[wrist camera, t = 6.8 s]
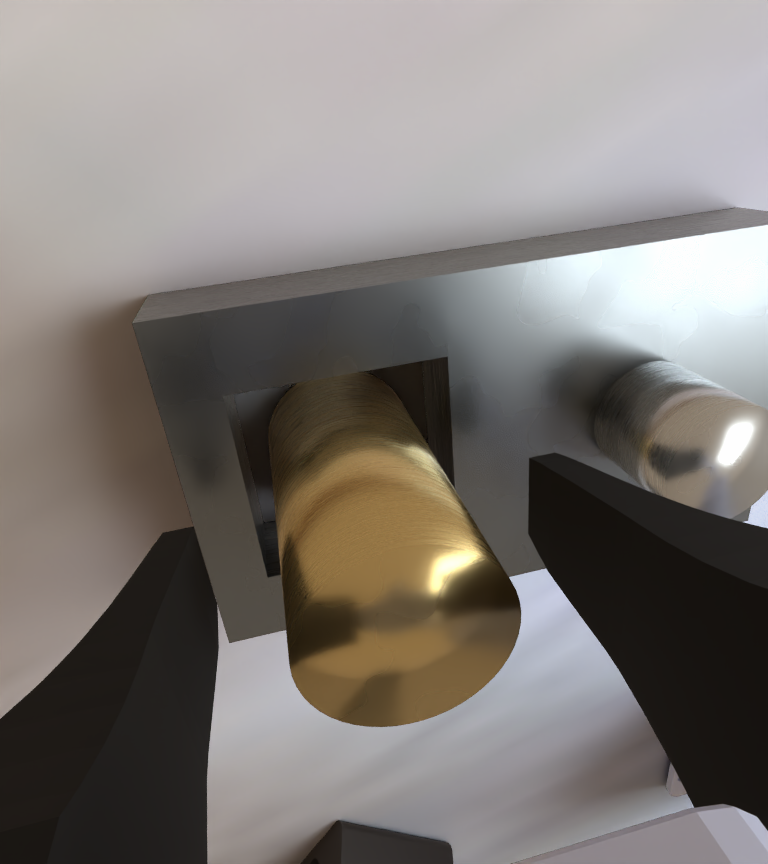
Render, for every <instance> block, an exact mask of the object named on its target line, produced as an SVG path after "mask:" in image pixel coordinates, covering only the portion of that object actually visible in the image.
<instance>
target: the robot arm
mask: <svg viewBox="0 0 768 864" xmlns="http://www.w3.org/2000/svg"><path fill="white" fill-rule="evenodd" d="M528 534H529V536H530V538H531V540H532V542H533V544H534V546H535V548H536V550H537V552H538V554H539V556H540V558H541V559H542V561H543V563H544V565H545V567H546V568H547V570H548V572H549V573H550V575H551V576H552V577H553V579H554V580H555V582H556V583H557V584H558V586H559V587H560V589H561V590H562V591H563V593H564V594H565V595H566V597H567V598H568V600H569V601H570V602H571V604H572V605H573V606H574V608H575V609H576V610H577V612H578V613H579V615H580V616H581V617H582V619H583V620H584V621H585V623H586V624H587V625H588V627H589V628H590V629H591V631H592V632H593V634H594V635H595V636H596V638H597V639H598V640H599V642H600V643H601V644H602V646H603V647H604V648H605V650H606V651H607V653H608V654H609V656H610V657H611V659H612V660H613V662H614V663H615V665H616V666H617V668H618V669H619V671H620V673H621V674H622V676H623V678H624V679H625V681H626V683H627V685H628V686H629V688H630V690H631V691H632V693H633V695H634V697H635V698H636V700H637V702H638V703H639V705H640V707H641V708H642V710H643V712H644V714H645V716H646V717H647V719H648V721H649V723H650V725H651V727H652V728H653V730H654V732H655V734H656V736H657V737H658V739H659V741H660V743H661V745H662V746H663V748H664V750H665V752H666V754H667V756H668V758H669V759H670V761H671V763H670V768H669V773H668V778H667V784H666V789H667V790H668V792H669V793H670V795H671V796H675V797H677V796H681V795H684V794H688V796H689V798H690V800H691V802H692V804H693V806H694V808H689V809H686V810H683V811H680V812H676V813H673V814H670V815H667V816H664V817H660V818H657V819H654V820H651V821H647V822H644V823H641V824H638V825H634V826H631V827H628V828H625V829H622V830H618V831H615V832H612V833H609V834H605V835H602V836H599V837H596V838H593V839H589V840H586V841H583V842H580V843H576V844H573V845H570V846H567V847H563V848H560V849H557V850H554V851H551V852H547V853H544V854H541V855H538V856H534V857H531V858H528V859H525V860H521V861H518V862H515V863H512V864H768V528H763V527H759V526H755V525H751V524H747V523H743V522H740V521H736V520H733V519H729V518H726V517H722V516H719V515H715V514H712V513H709V512H705V511H702V510H699V509H696V508H693V507H690V506H687V505H684V504H682V503H679V502H676V501H673V500H671V499H668V498H665V497H662V496H660V495H657V494H655V493H652V492H650V491H647V490H645V489H642V488H640V487H637V486H635V485H632V484H630V483H628V482H625V481H623V480H621V479H618V478H616V477H614V476H611V475H609V474H607V473H604V472H602V471H600V470H597V469H595V468H593V467H591V466H588V465H586V464H584V463H581V462H579V461H577V460H574V459H572V458H569V457H567V456H564V455H561V454H558V453H550V454H545V455H540V456H535V457H531V458H529V502H528ZM218 649H219V645H218V613H217V602H216V598H215V595H214V592H213V588H212V585H211V582H210V579H209V575H208V572H207V569H206V565H205V562H204V559H203V556H202V552H201V549H200V546H199V542H198V539H197V536H196V533H195V529H194V527H189V528H185V529H180V530H175V531H170V532H165V533H162V535H161V536H160V538H159V539H158V540H157V542H156V543H155V544H154V546H153V547H152V548H151V550H150V551H149V553H148V554H147V555H146V557H145V558H144V560H143V561H142V563H141V564H140V565H139V567H138V568H137V570H136V571H135V572H134V574H133V575H132V577H131V578H130V579H129V581H128V582H127V583H126V585H125V586H124V587H123V589H122V590H121V591H120V593H119V594H118V595H117V597H116V598H115V600H114V601H113V602H112V604H111V605H110V606H109V607H108V609H107V610H106V611H105V612H104V613H103V615H102V616H101V617H100V618H99V619H98V621H97V622H96V623H95V624H94V626H93V627H92V628H91V629H90V630H89V632H88V633H87V634H86V635H85V636H84V638H83V639H82V640H81V641H80V642H79V643H78V644H77V645H76V647H75V648H74V649H73V650H72V651H71V652H70V653H69V654H68V655H67V656H66V657H65V658H64V659H63V661H62V662H61V663H60V664H59V665H58V666H57V667H56V668H55V669H54V670H53V671H52V672H51V673H50V674H49V675H48V676H47V677H46V678H45V679H44V680H43V681H42V682H41V683H40V684H39V685H38V686H36V687H35V688H34V689H33V690H32V691H31V692H30V693H29V694H28V695H27V696H25V697H24V698H23V699H22V700H21V701H20V702H19V703H18V704H17V705H15V706H14V707H13V708H12V709H11V710H10V711H9V712H8V713H6V714H5V715H4V716H3V717H2V718H1V719H0V864H207V767H208V751H209V741H210V731H211V721H212V712H213V702H214V692H215V682H216V671H217V661H218Z"/></svg>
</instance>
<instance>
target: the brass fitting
mask: <svg viewBox="0 0 768 864" xmlns="http://www.w3.org/2000/svg"><path fill="white" fill-rule="evenodd" d="M268 441H269V452H270V463H271V474H272V484H273V495H274V505H275V516H276V526H277V537H278V548H279V558H280V569H281V579H282V590H283V600H284V611H285V622H286V632H287V643H288V653H289V664H290V669H291V674H292V677H293V680H294V682H295V684H296V687H297V688H298V690H299V691H300V693H301V694H302V696H303V697H304V698H305V699H306V700H307V701H308V702H309V703H310V704H311V705H312V706H314V707H315V708H316V709H317V710H319V711H320V712H322V713H324V714H326V715H327V716H329V717H331V718H334V719H337V720H339V721H342V722H346V723H350V724H354V725H360V726H369V727H387V726H398V725H404V724H410V723H414V722H418V721H422V720H425V719H428V718H431V717H434V716H437V715H439V714H441V713H443V712H446V711H448V710H450V709H452V708H454V707H456V706H457V705H459V704H461V703H463V702H464V701H466V700H467V699H469V698H470V697H472V696H473V695H474V694H476V693H477V692H478V691H479V690H481V689H482V688H483V687H484V686H485V685H486V684H487V683H488V682H489V681H490V680H491V679H492V678H494V676H495V675H496V674H497V673H498V672H499V670H500V669H501V668H502V667H503V665H504V664H505V662H506V661H507V659H508V658H509V656H510V654H511V652H512V650H513V648H514V646H515V643H516V640H517V637H518V635H519V629H520V624H521V608H520V601H519V598H518V595H517V592H516V589H515V588H514V586H513V584H512V582H511V580H510V579H509V577H508V575H507V574H506V572H505V570H504V569H503V567H502V565H501V564H500V562H499V561H498V559H497V557H496V556H495V554H494V552H493V551H492V549H491V548H490V546H489V544H488V543H487V541H486V539H485V538H484V536H483V534H482V533H481V531H480V530H479V528H478V526H477V525H476V523H475V521H474V520H473V518H472V517H471V515H470V513H469V512H468V510H467V508H466V507H465V505H464V503H463V502H462V500H461V499H460V497H459V495H458V494H457V492H456V490H455V489H454V487H453V485H452V484H451V482H450V481H449V479H448V477H447V476H446V474H445V472H444V471H443V469H442V468H441V466H440V464H439V463H438V461H437V459H436V458H435V456H434V454H433V453H432V451H431V450H430V448H429V446H428V445H427V443H426V441H425V440H424V438H423V436H422V435H421V433H420V432H419V430H418V428H417V427H416V425H415V423H414V422H413V420H412V419H411V417H410V415H409V414H408V412H407V410H406V409H405V407H404V405H403V404H402V402H401V401H400V399H399V397H398V396H397V395H396V393H395V392H394V391H393V390H392V389H391V388H390V387H389V386H388V385H387V384H386V383H385V382H383V381H382V380H381V379H379V378H377V377H375V376H373V375H371V374H368V373H366V372H357V373H351V374H346V375H340V376H334V377H329V378H323V379H317V380H311V381H306V382H300V383H297V384H296V385H295V386H293V387H292V388H291V389H290V390H289V391H288V392H287V393H286V394H285V395H284V396H283V397H282V399H281V400H280V401H279V403H278V405H277V406H276V408H275V410H274V412H273V415H272V417H271V421H270V425H269V432H268Z"/></svg>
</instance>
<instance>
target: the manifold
mask: <svg viewBox="0 0 768 864" xmlns="http://www.w3.org/2000/svg"><path fill="white" fill-rule="evenodd" d="M132 325H133V328H134V331H135V334H136V338H137V341H138V344H139V348H140V351H141V354H142V357H143V361H144V364H145V367H146V371H147V374H148V377H149V380H150V384H151V387H152V390H153V394H154V397H155V400H156V403H157V407H158V410H159V413H160V417H161V420H162V423H163V426H164V430H165V433H166V436H167V440H168V443H169V446H170V450H171V453H172V456H173V459H174V463H175V466H176V469H177V473H178V476H179V479H180V482H181V486H182V489H183V492H184V496H185V499H186V502H187V505H188V509H189V512H190V515H191V519H192V522H193V525H194V528H195V532H196V535H197V538H198V542H199V545H200V548H201V551H202V555H203V558H204V561H205V565H206V568H207V571H208V574H209V578H210V581H211V584H212V588H213V591H214V594H215V597H216V601H217V604H218V607H219V611H220V614H221V617H222V620H223V624H224V627H225V630H226V634H227V637H228V640H229V643H232V642H236V641H240V640H245V639H249V638H253V637H257V636H262V635H266V634H270V633H274V632H279V631H283V630H286V622H285V611H284V600H283V590H282V579H281V569H280V558H279V548H278V537H277V526H276V521H274V522H270V523H265V524H264V522H263V518H262V513H261V509H260V505H259V501H258V496H257V492H256V488H255V484H254V480H253V475H252V471H251V467H250V463H249V459H248V454H247V450H246V446H245V442H244V437H243V433H242V429H241V425H240V421H239V416H238V412H237V408H236V404H235V400H234V395H233V394H238V393H243V392H249V391H255V390H260V389H266V388H272V387H277V386H283V385H289V384H294V383H300V382H306V381H311V380H317V379H323V378H329V377H334V376H340V375H346V374H351V373H357V372H363V371H368V370H374V369H380V368H385V367H391V366H397V365H402V364H408V363H414V362H420V361H422V370H423V383H424V397H425V410H426V423H427V436H428V446H429V448H430V450H431V451H432V453H433V454H434V456H435V458H436V459H437V461H438V463H439V464H440V466H441V468H442V469H443V471H444V472H445V474H446V476H447V477H448V479H449V481H450V482H451V484H452V485H453V487H454V489H455V490H456V492H457V494H458V495H459V497H460V499H461V500H462V502H463V503H464V505H465V507H466V508H467V510H468V512H469V513H470V515H471V517H472V518H473V520H474V521H475V523H476V525H477V526H478V528H479V530H480V531H481V533H482V534H483V536H484V538H485V539H486V541H487V543H488V544H489V546H490V548H491V549H492V551H493V552H494V554H495V556H496V557H497V559H498V561H499V562H500V564H501V565H502V567H503V569H504V570H505V572H506V574H507V575H508V577H511V576H515V575H519V574H524V573H528V572H532V571H536V570H541V569H545V568H546V567H545V565H544V563H543V561H542V559H541V558H540V556H539V554H538V552H537V550H536V548H535V546H534V544H533V542H532V540H531V538H530V536H529V534H528V502H529V458H531V457H535V456H540V455H545V454H550V453H558V454H561V455H564V456H567V457H569V458H572V459H574V460H577V461H579V462H581V463H584V464H586V465H588V466H591V467H593V468H595V469H597V470H600V471H602V472H604V473H607V474H609V475H611V476H614V477H616V478H618V479H621V480H623V481H625V482H628V483H630V484H632V485H635V486H637V487H640V488H642V489H645V490H647V491H650V492H652V493H655V494H657V495H660V496H662V497H665V498H668V499H671V500H673V501H676V502H679V503H682V504H684V505H687V506H690V507H693V508H696V509H699V510H702V511H705V512H709V513H712V514H715V515H719V516H722V517H726V518H729V519H733V520H736V521H740V522H743V521H748V517H749V513H750V508H751V506H752V505H753V504H754V503H755V502H756V501H758V500H759V499H760V498H761V497H762V496H763V495H764V494H765V493H766V491H767V490H768V211H761V210H753V209H746V208H731V209H725V210H718V211H711V212H704V213H698V214H691V215H684V216H677V217H671V218H664V219H657V220H651V221H644V222H637V223H630V224H624V225H617V226H610V227H603V228H597V229H590V230H583V231H576V232H570V233H563V234H556V235H549V236H543V237H536V238H529V239H522V240H516V241H509V242H502V243H496V244H489V245H482V246H475V247H469V248H462V249H455V250H448V251H442V252H435V253H428V254H421V255H415V256H408V257H401V258H394V259H388V260H381V261H374V262H367V263H361V264H354V265H347V266H341V267H334V268H327V269H320V270H314V271H307V272H300V273H293V274H287V275H280V276H273V277H266V278H260V279H253V280H246V281H239V282H233V283H226V284H219V285H212V286H206V287H199V288H192V289H186V290H179V291H172V292H165V293H159V294H152V295H148V296H147V298H146V300H145V302H144V303H143V305H142V307H141V308H140V310H139V312H138V314H137V315H136V317H135V319H134V320H133V322H132Z"/></svg>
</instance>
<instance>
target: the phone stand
mask: <svg viewBox="0 0 768 864" xmlns="http://www.w3.org/2000/svg"><path fill="white" fill-rule="evenodd" d="M301 864H453V855H452V848H451V845H450V844H449V843H446V842H441V841H436V840H431V839H426V838H421V837H416V836H411V835H406V834H401V833H396V832H392V831H387V830H382V829H377V828H372V827H367V826H362V825H357V824H352V823H347V822H342V821H337V822H336V823H335V824H334V825H333V826H332V828H331V829H330V830H329V831H328V832H327V833H326V835H325V836H324V837H323V838H322V839H321V840H320V842H319V843H318V844H317V845H316V846H315V847H314V849H313V850H312V851H311V852H310V853H309V854H308V856H307V857H306V858H305V859H304V860H303V861H302V863H301Z"/></svg>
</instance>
